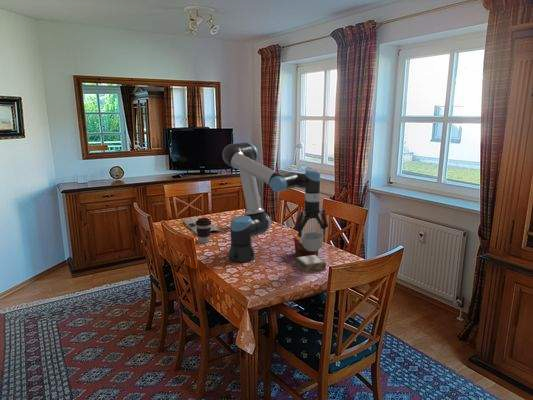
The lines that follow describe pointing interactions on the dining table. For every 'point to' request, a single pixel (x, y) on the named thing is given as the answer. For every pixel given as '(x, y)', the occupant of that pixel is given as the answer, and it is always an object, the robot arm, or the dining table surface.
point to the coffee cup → (203, 230)
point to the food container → (302, 248)
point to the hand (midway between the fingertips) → (311, 241)
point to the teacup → (312, 241)
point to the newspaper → (193, 226)
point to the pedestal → (310, 263)
